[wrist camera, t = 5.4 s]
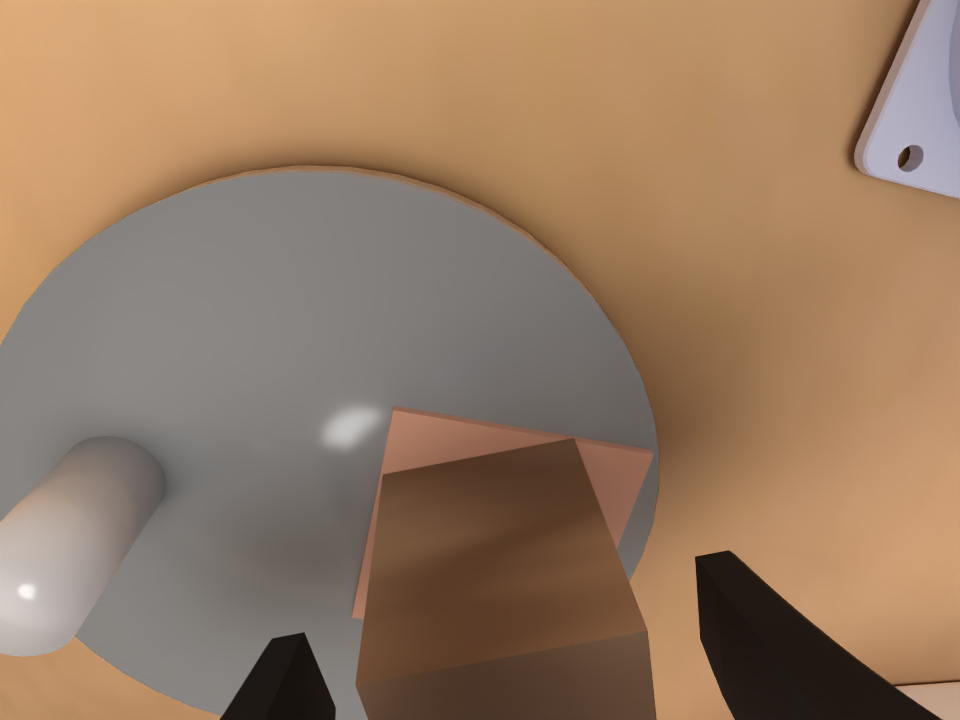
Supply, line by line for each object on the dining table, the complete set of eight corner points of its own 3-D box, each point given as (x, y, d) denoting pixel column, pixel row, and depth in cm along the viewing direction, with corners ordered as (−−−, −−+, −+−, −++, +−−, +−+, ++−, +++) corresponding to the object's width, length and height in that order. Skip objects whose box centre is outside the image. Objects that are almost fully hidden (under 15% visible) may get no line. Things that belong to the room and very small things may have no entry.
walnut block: (573, 437, 13) (647, 630, 9) (594, 584, 15) (665, 811, 10) (382, 474, 13) (355, 684, 9) (424, 616, 15) (420, 856, 10)
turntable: (734, 250, 13) (878, 334, 9) (551, 715, 19) (586, 908, 14) (-4, 83, 11) (-278, 89, 7) (31, 661, 16) (-112, 868, 12)
